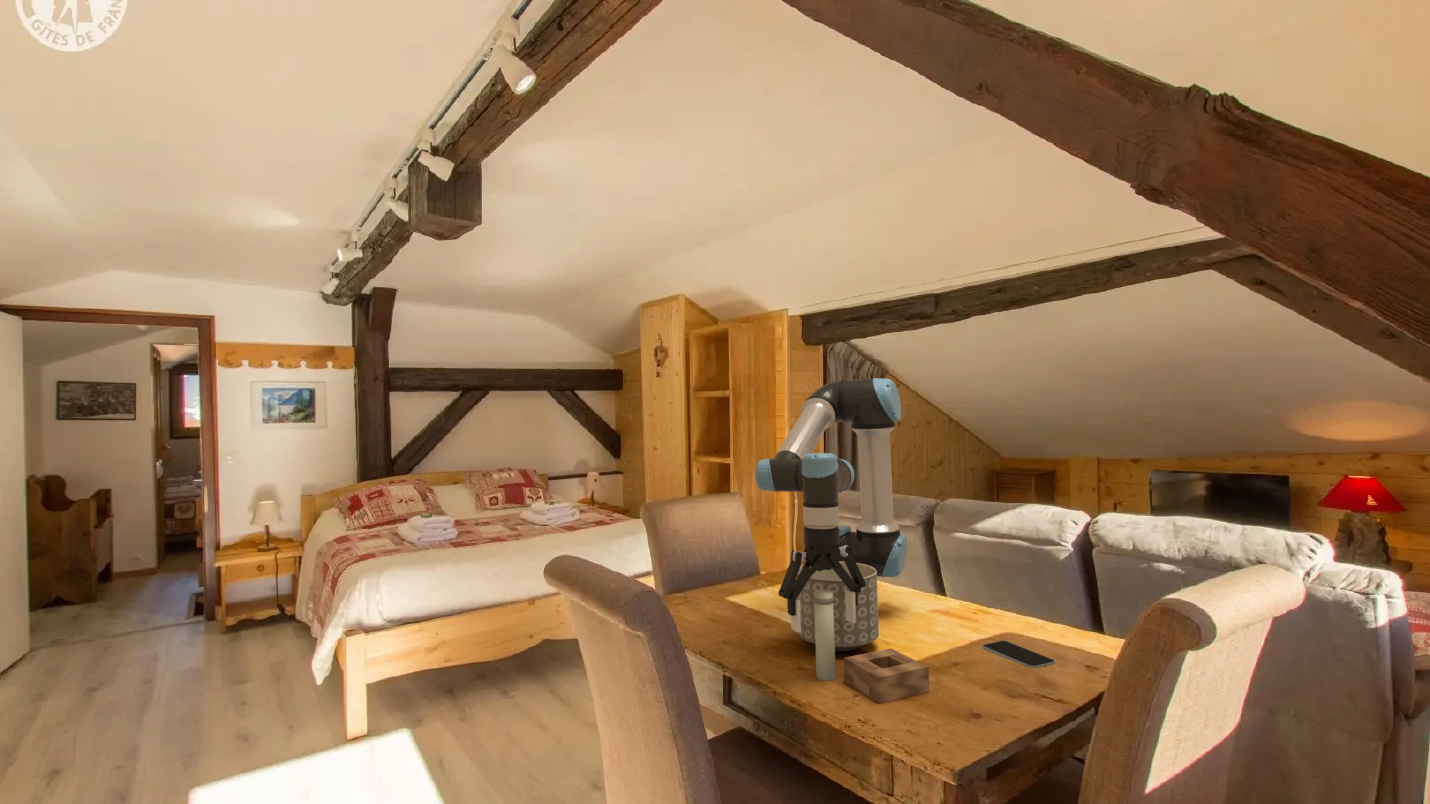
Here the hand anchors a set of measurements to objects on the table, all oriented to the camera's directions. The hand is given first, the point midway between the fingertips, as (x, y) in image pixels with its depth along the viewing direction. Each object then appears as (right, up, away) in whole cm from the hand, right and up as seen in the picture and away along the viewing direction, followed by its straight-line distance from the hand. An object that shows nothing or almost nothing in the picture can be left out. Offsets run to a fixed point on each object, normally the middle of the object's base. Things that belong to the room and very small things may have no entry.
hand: (824, 626), depth 147 cm
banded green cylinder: (0, -11, 0) cm, 11 cm away
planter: (+7, -11, +19) cm, 23 cm away
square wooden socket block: (+12, -10, -6) cm, 17 cm away
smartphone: (+45, -10, +10) cm, 47 cm away
